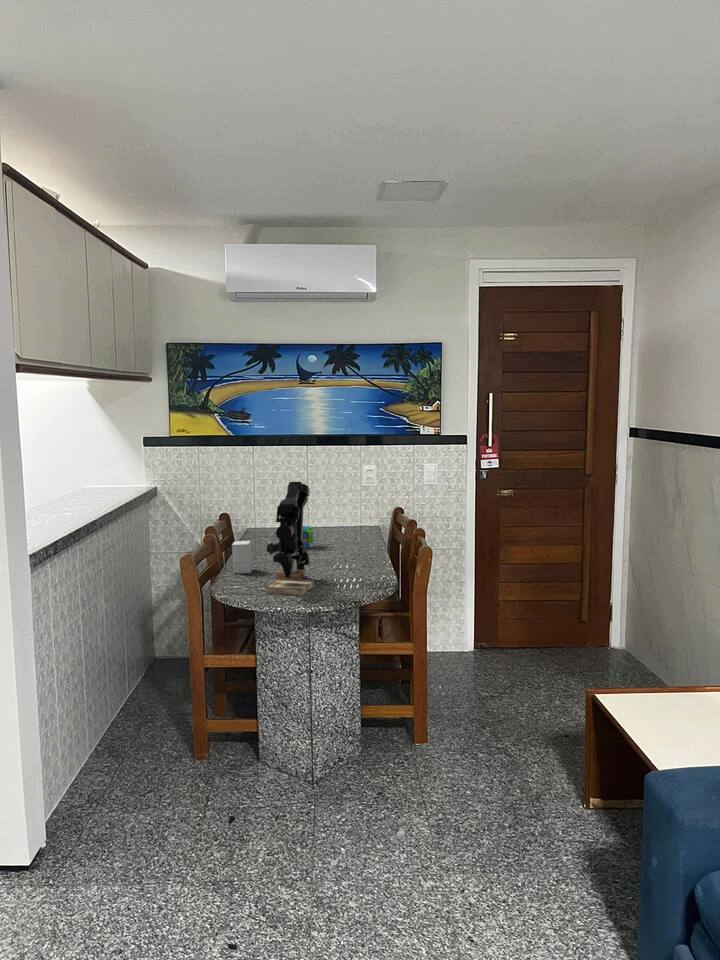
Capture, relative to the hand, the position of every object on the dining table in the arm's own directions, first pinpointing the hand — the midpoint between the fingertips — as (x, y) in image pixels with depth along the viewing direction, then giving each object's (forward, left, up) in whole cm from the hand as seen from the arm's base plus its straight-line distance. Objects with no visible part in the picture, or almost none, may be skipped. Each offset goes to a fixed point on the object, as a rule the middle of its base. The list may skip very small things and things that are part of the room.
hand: (290, 575), depth 273 cm
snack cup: (-72, -23, -6) cm, 76 cm away
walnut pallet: (0, 0, -1) cm, 1 cm away
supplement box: (-23, -31, -6) cm, 39 cm away
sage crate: (0, 0, +2) cm, 2 cm away
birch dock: (0, 0, -5) cm, 5 cm away
